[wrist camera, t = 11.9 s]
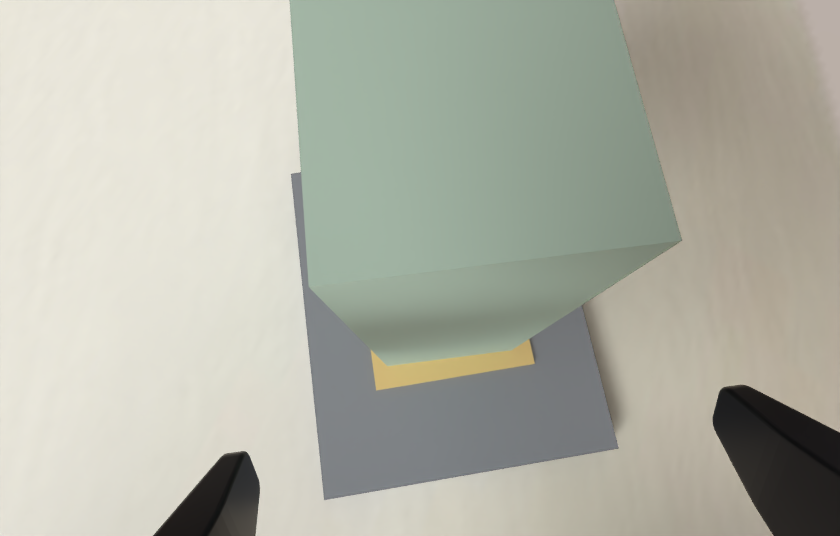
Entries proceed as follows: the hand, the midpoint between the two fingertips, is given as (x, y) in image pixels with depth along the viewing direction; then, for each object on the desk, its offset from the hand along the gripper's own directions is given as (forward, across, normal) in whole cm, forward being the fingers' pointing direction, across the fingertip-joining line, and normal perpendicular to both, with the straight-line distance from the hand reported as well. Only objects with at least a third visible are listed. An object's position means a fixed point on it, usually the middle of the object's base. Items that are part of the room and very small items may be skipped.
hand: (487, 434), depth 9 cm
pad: (+9, 0, +3) cm, 10 cm away
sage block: (+8, 0, +2) cm, 9 cm away
